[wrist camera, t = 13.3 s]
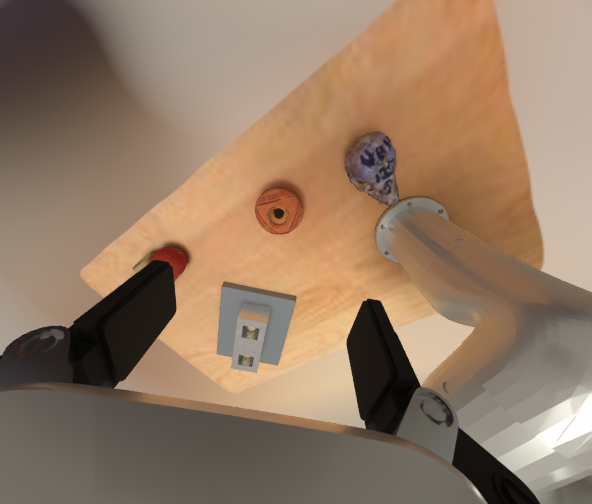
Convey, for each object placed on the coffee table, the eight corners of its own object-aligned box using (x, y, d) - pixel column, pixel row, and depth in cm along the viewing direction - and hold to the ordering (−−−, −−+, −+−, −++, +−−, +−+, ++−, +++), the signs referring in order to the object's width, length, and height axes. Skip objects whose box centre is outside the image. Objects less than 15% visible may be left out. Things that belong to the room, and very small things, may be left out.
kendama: (153, 295, 52) (201, 266, 45) (128, 312, 46) (178, 282, 39) (131, 269, 50) (177, 234, 43) (103, 283, 45) (150, 246, 37)
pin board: (296, 296, 48) (294, 312, 44) (278, 360, 58) (276, 378, 54) (224, 282, 47) (215, 296, 43) (218, 349, 57) (211, 366, 53)
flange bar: (260, 354, 55) (256, 372, 51) (237, 349, 55) (231, 368, 50) (271, 306, 48) (267, 323, 43) (243, 301, 48) (237, 317, 43)
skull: (405, 193, 37) (422, 202, 32) (362, 213, 39) (371, 225, 34) (382, 122, 33) (397, 118, 27) (335, 149, 35) (340, 150, 29)
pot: (264, 174, 36) (267, 184, 31) (305, 192, 39) (314, 205, 34) (248, 216, 40) (247, 232, 34) (286, 230, 43) (292, 247, 37)
